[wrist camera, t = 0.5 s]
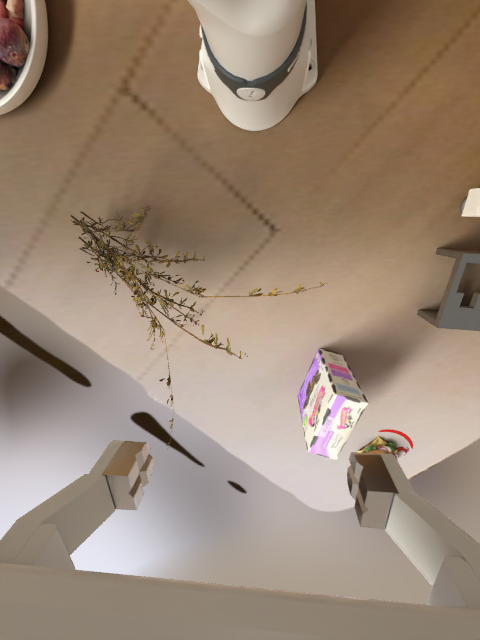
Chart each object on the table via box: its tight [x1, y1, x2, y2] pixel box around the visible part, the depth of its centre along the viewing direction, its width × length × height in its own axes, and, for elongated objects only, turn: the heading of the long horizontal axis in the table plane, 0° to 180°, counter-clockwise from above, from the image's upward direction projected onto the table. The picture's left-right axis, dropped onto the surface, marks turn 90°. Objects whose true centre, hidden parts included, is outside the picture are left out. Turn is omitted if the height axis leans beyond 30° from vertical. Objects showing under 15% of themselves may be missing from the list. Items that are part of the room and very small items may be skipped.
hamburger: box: [357, 430, 413, 459], centre depth 65 cm, size 14×14×6 cm
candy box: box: [298, 349, 368, 460], centre depth 54 cm, size 14×6×16 cm, turn 165°
